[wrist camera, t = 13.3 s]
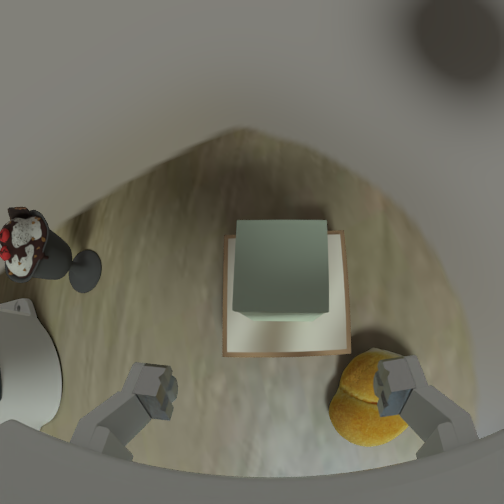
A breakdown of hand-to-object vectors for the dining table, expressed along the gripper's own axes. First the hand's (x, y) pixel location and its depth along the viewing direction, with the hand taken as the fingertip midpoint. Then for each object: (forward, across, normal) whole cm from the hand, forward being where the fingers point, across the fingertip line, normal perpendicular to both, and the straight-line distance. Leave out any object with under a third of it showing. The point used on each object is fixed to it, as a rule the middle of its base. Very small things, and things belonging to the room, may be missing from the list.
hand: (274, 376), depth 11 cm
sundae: (+17, +21, +6) cm, 28 cm away
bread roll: (+8, -9, +14) cm, 19 cm away
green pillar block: (+12, 0, +5) cm, 13 cm away
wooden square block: (+15, -1, +8) cm, 17 cm away
